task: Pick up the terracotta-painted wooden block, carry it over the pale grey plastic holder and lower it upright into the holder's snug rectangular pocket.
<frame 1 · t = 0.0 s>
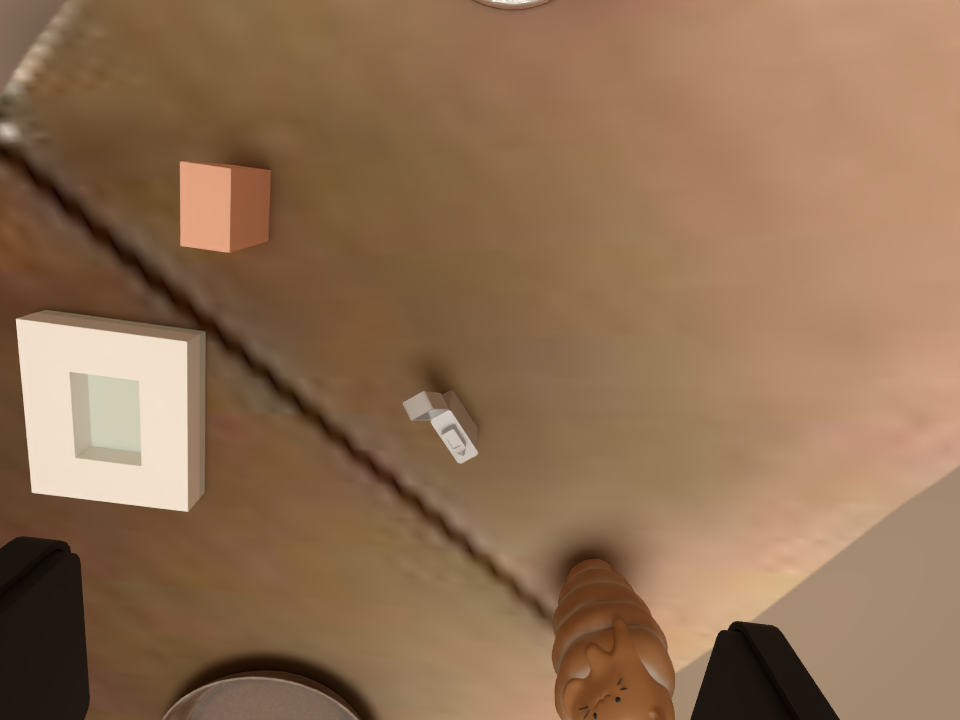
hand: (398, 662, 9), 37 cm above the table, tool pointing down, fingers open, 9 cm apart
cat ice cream: (585, 567, 52), on the table
white plastic device: (447, 399, 47), on the table
block: (248, 203, 42), on the table
holder: (129, 405, 47), on the table
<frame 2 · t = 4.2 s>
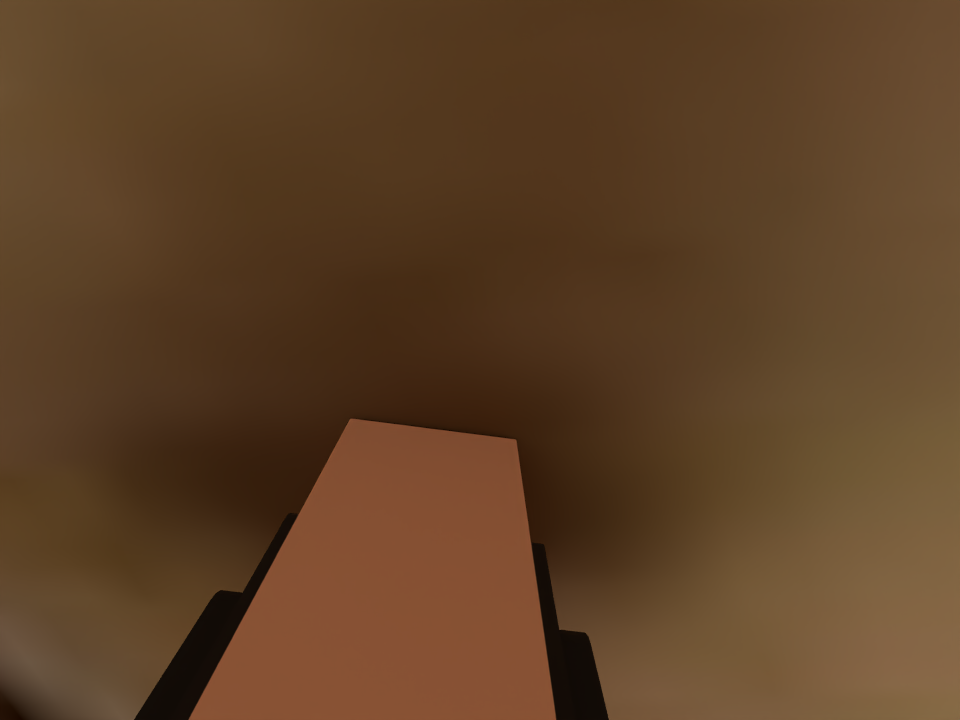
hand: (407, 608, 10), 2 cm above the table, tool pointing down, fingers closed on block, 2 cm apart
block: (418, 547, 11), on the table, touching gripper
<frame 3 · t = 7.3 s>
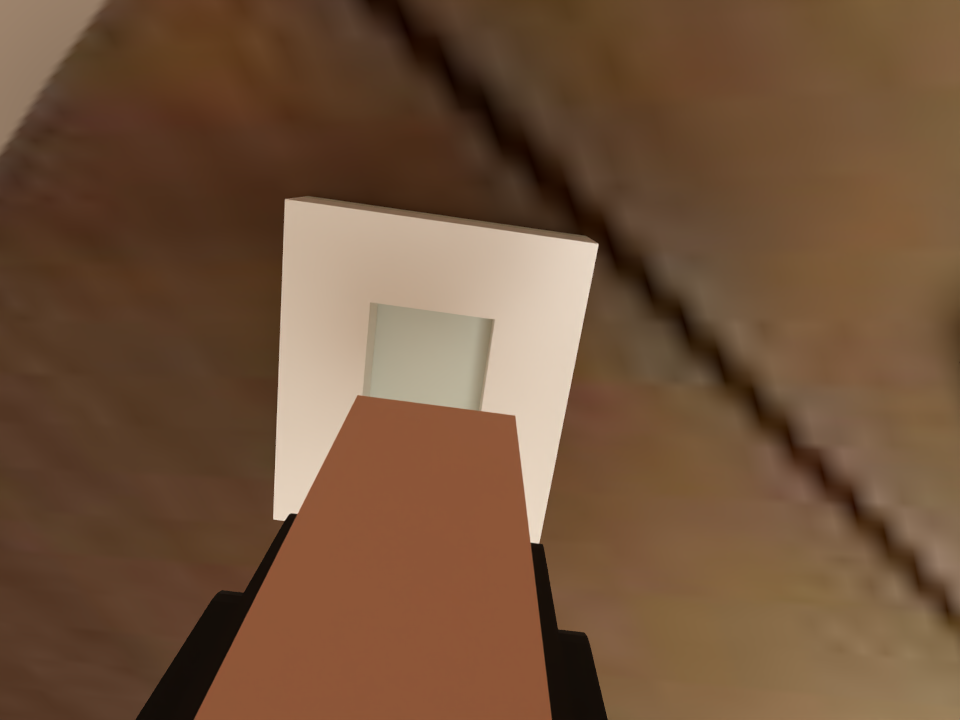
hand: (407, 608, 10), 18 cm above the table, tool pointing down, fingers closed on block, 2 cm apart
block: (422, 516, 12), point 15 cm above the table, touching gripper
holder: (429, 369, 27), on the table
when the fingers open (4 cm above the table, at t = 10.8 s): block stays where it is, resting on holder.
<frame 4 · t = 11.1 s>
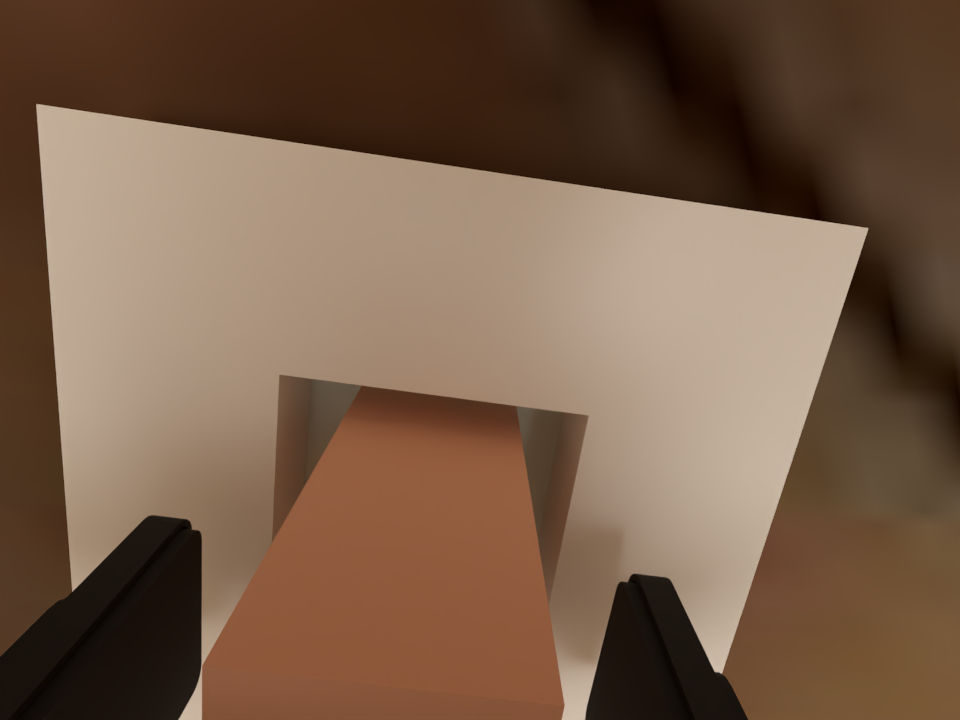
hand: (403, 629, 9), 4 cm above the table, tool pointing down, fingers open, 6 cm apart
block: (425, 503, 12), point 1 cm above the table, touching holder
holder: (426, 492, 13), on the table
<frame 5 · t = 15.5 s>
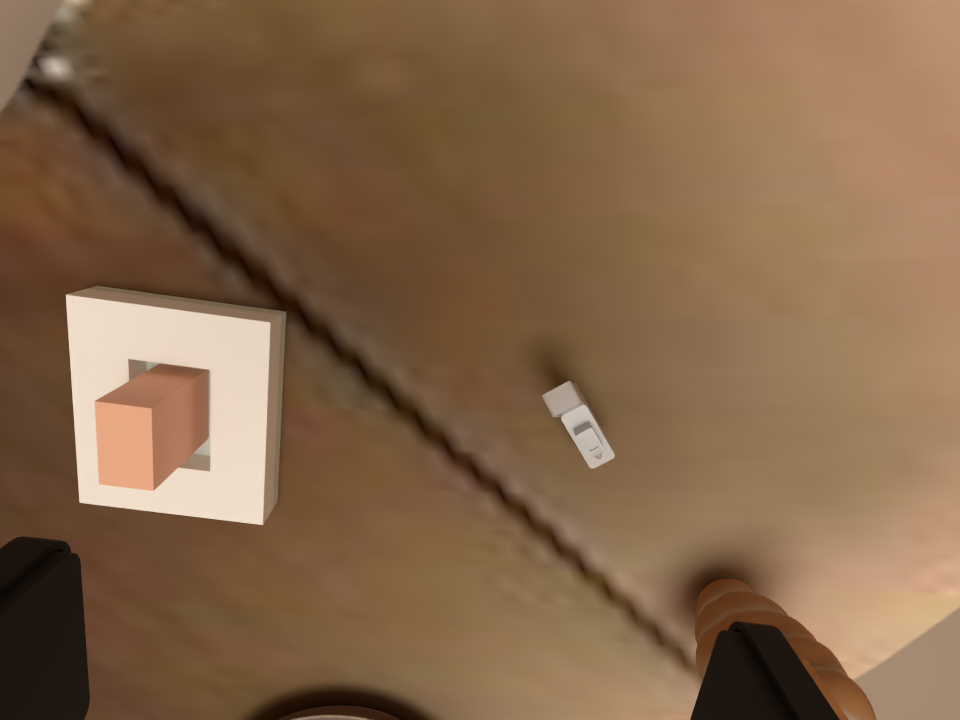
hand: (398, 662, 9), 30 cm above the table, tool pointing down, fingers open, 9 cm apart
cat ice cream: (714, 588, 45), on the table
white plastic device: (566, 392, 40), on the table
block: (186, 400, 39), point 1 cm above the table, touching holder
holder: (192, 399, 40), on the table
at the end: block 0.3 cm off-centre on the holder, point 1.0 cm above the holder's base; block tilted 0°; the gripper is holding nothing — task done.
